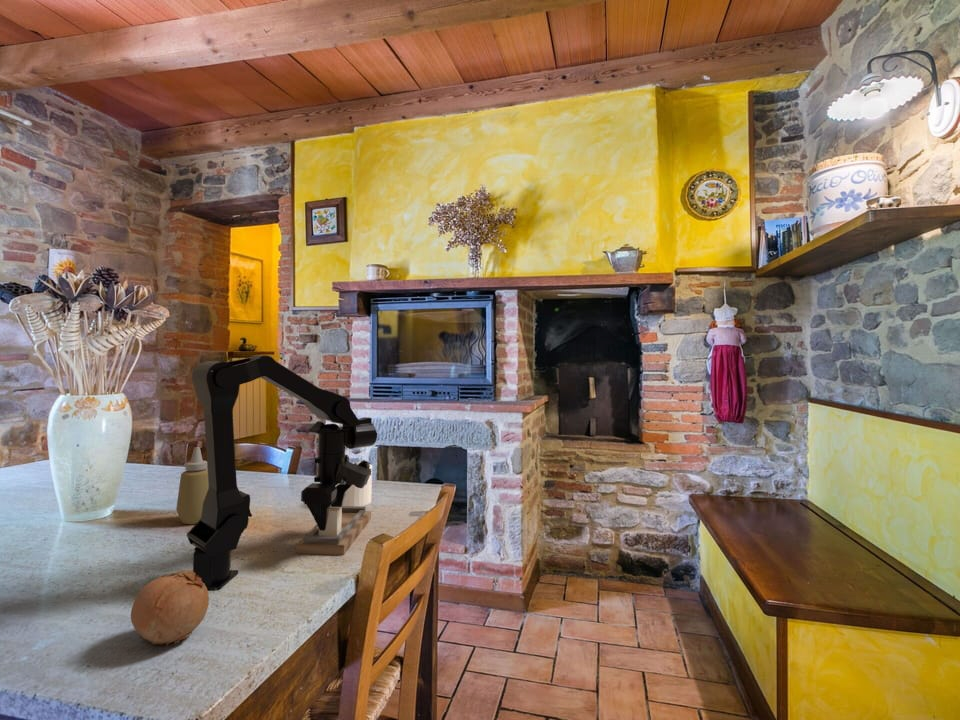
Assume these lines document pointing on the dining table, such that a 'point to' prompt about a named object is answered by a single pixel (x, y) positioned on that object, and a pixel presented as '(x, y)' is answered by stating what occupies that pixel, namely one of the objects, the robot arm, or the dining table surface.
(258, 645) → the dining table surface
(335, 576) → the dining table surface
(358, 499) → the mug
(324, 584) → the dining table surface
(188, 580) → the onion
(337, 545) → the brown wooden tray
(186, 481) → the squeeze bottle
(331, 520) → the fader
